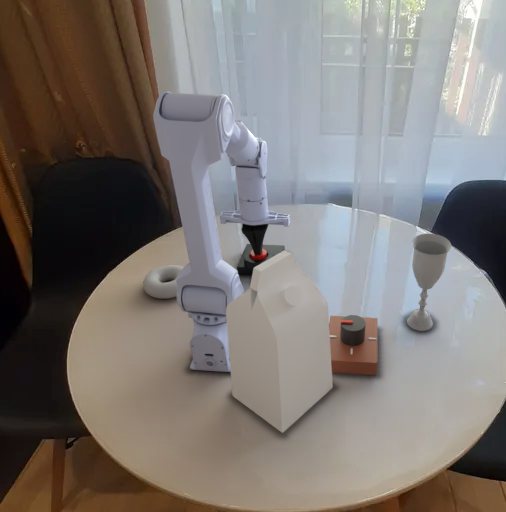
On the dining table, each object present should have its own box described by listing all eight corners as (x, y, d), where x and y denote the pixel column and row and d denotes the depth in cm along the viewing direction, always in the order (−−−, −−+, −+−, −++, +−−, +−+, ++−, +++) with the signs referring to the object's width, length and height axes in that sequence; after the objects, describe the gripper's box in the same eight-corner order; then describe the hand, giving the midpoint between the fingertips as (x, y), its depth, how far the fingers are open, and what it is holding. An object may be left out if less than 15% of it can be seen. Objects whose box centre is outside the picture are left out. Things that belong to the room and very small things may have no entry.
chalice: (436, 337, 92) (451, 257, 82) (400, 331, 93) (410, 252, 83) (437, 313, 98) (451, 235, 87) (404, 308, 99) (413, 231, 88)
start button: (265, 263, 107) (264, 257, 106) (249, 262, 107) (248, 256, 106) (268, 255, 110) (267, 248, 109) (252, 254, 110) (252, 247, 109)
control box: (277, 279, 107) (276, 263, 105) (237, 277, 108) (235, 261, 105) (284, 253, 116) (284, 238, 113) (247, 251, 116) (246, 237, 114)
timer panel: (376, 375, 84) (377, 362, 82) (324, 372, 84) (324, 359, 83) (376, 330, 94) (377, 317, 92) (330, 327, 94) (330, 314, 92)
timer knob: (365, 330, 89) (366, 314, 87) (364, 346, 85) (365, 330, 83) (341, 329, 89) (341, 312, 87) (339, 345, 86) (339, 329, 83)
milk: (283, 356, 87) (274, 230, 72) (332, 387, 82) (334, 257, 66) (232, 395, 80) (210, 263, 65) (282, 433, 74) (271, 297, 59)
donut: (183, 304, 100) (199, 275, 108) (180, 290, 98) (197, 262, 106) (137, 300, 100) (156, 272, 108) (133, 287, 98) (152, 260, 106)
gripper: (290, 189, 102) (293, 244, 110) (223, 186, 103) (230, 241, 111) (285, 203, 96) (288, 261, 104) (213, 200, 97) (222, 258, 105)
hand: (258, 252), depth 107 cm, fingers closed, pressing on start button
